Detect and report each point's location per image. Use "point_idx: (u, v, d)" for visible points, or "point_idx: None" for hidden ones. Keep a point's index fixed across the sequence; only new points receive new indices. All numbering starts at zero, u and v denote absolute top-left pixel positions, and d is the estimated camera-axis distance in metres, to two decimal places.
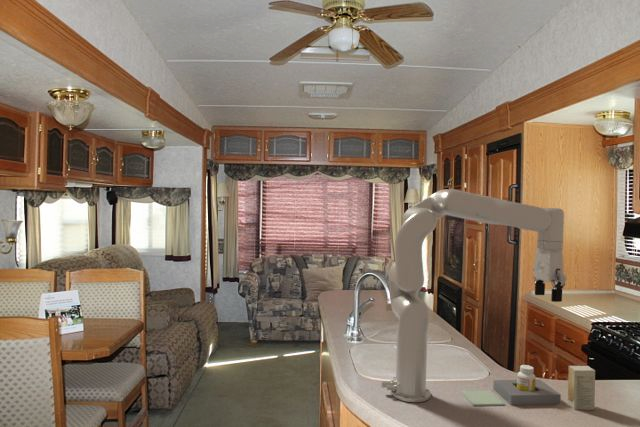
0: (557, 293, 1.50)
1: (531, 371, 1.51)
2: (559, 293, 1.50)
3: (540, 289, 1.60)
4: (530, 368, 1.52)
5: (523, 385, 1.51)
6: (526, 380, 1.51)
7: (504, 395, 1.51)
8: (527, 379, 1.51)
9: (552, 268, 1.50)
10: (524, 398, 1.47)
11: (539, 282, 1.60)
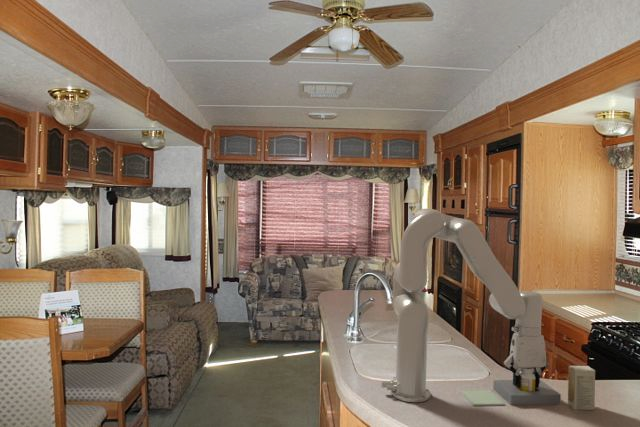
0: None
1: (531, 371, 1.51)
2: None
3: None
4: (530, 368, 1.52)
5: (523, 385, 1.51)
6: (526, 379, 1.51)
7: (504, 395, 1.51)
8: (527, 379, 1.51)
9: None
10: (524, 398, 1.47)
11: None
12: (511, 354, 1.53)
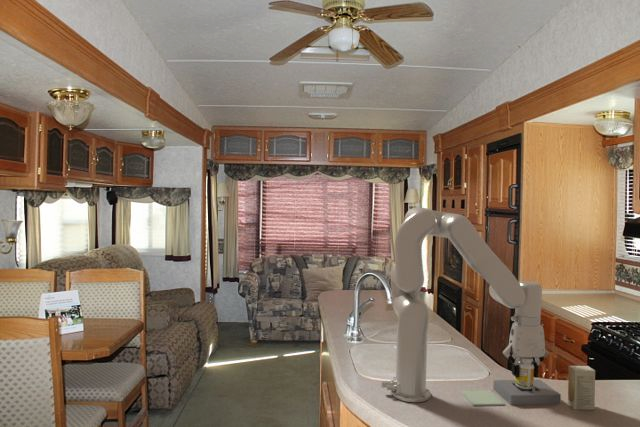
0: None
1: (530, 361, 1.51)
2: None
3: None
4: (529, 358, 1.52)
5: (521, 374, 1.51)
6: (524, 369, 1.51)
7: (504, 395, 1.51)
8: (525, 369, 1.51)
9: None
10: (524, 398, 1.47)
11: None
12: (510, 344, 1.53)
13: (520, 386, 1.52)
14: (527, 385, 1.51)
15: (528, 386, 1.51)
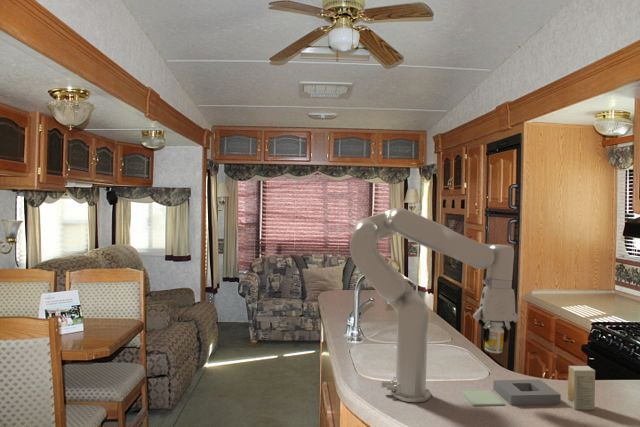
0: None
1: (500, 325, 1.49)
2: None
3: None
4: (499, 322, 1.50)
5: (491, 338, 1.49)
6: (494, 333, 1.49)
7: (504, 395, 1.51)
8: (495, 333, 1.48)
9: None
10: (524, 398, 1.47)
11: None
12: (480, 307, 1.50)
13: (489, 350, 1.49)
14: (496, 349, 1.49)
15: (497, 350, 1.49)
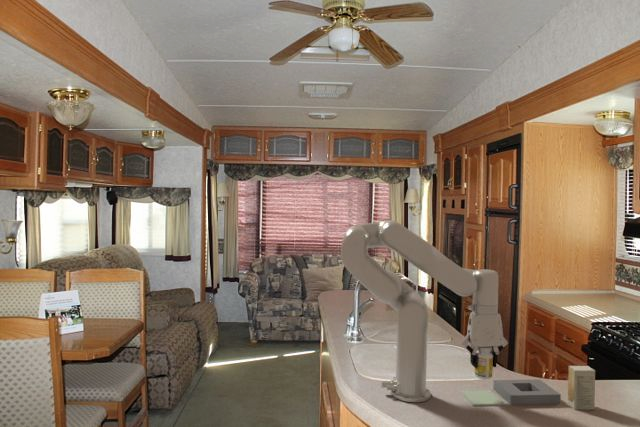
0: None
1: (488, 350, 1.49)
2: None
3: None
4: (487, 347, 1.49)
5: (480, 364, 1.49)
6: (483, 359, 1.48)
7: (504, 395, 1.51)
8: (484, 358, 1.48)
9: None
10: (524, 398, 1.47)
11: None
12: (468, 333, 1.50)
13: (479, 376, 1.49)
14: (486, 375, 1.48)
15: (487, 376, 1.48)
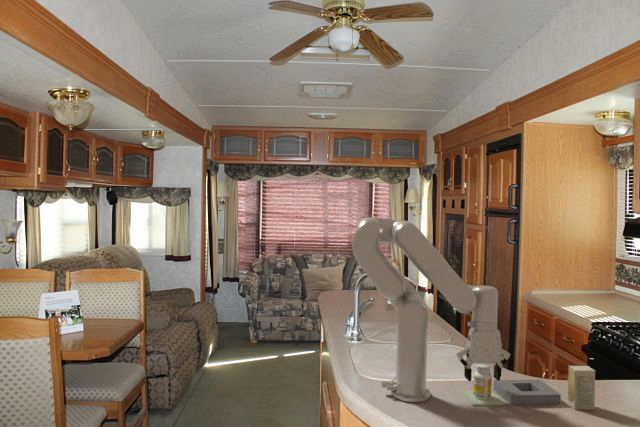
0: None
1: (487, 371, 1.49)
2: None
3: None
4: (486, 368, 1.50)
5: (478, 385, 1.49)
6: (481, 380, 1.49)
7: (504, 395, 1.51)
8: (482, 379, 1.49)
9: None
10: (524, 398, 1.47)
11: None
12: (466, 348, 1.50)
13: (477, 397, 1.49)
14: (484, 396, 1.49)
15: (485, 397, 1.49)
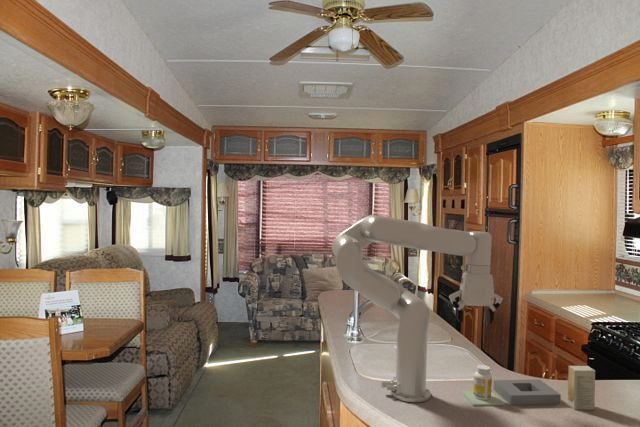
0: None
1: (487, 371, 1.49)
2: None
3: None
4: (486, 368, 1.50)
5: (478, 385, 1.49)
6: (481, 380, 1.49)
7: (504, 395, 1.51)
8: (482, 379, 1.48)
9: (493, 291, 1.53)
10: (524, 398, 1.47)
11: None
12: (459, 290, 1.54)
13: (477, 397, 1.49)
14: (484, 396, 1.49)
15: (485, 397, 1.49)
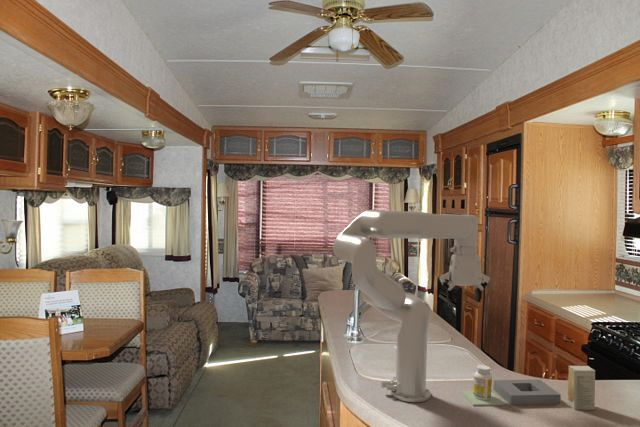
0: None
1: (487, 371, 1.49)
2: None
3: None
4: (486, 368, 1.50)
5: (478, 385, 1.49)
6: (481, 380, 1.49)
7: (504, 395, 1.51)
8: (482, 380, 1.48)
9: None
10: (524, 398, 1.47)
11: None
12: (449, 272, 1.61)
13: (477, 397, 1.49)
14: (484, 396, 1.49)
15: (485, 397, 1.49)
